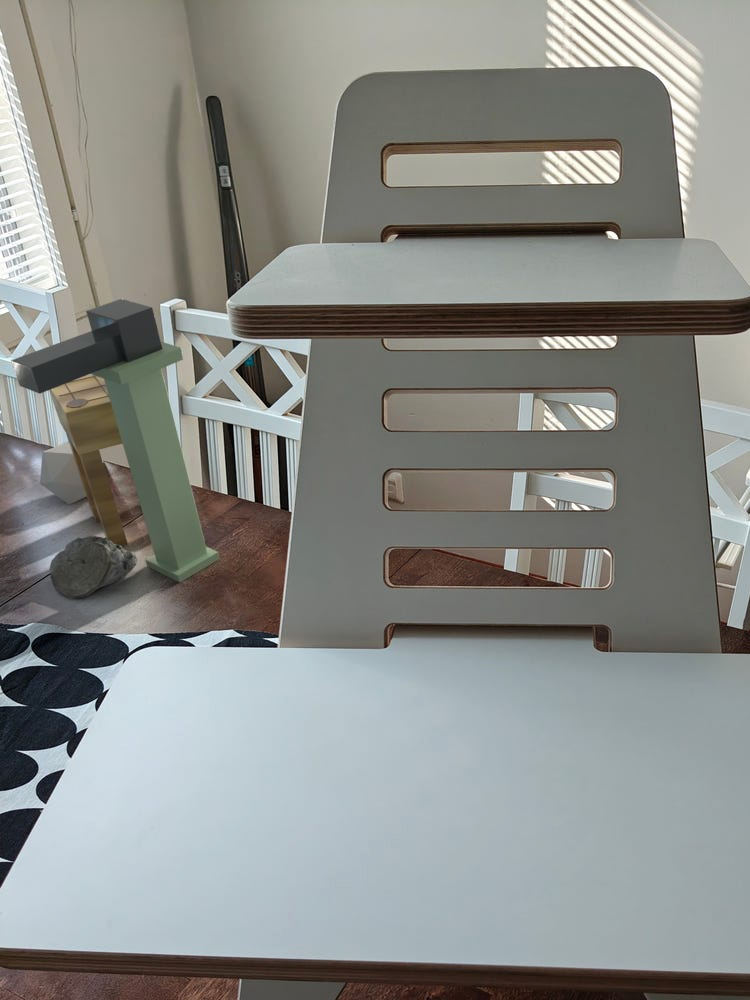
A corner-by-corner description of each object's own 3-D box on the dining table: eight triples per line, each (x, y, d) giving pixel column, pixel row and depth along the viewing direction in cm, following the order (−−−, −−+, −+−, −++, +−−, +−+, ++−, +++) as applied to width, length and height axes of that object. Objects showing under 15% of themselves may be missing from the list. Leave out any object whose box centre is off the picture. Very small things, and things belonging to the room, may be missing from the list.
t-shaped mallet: (132, 339, 120) (121, 298, 117) (162, 348, 117) (152, 307, 114) (14, 384, 110) (-1, 340, 107) (44, 395, 107) (30, 351, 104)
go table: (90, 515, 147) (46, 381, 134) (169, 493, 151) (133, 361, 138) (109, 551, 138) (64, 412, 125) (192, 526, 143) (157, 389, 130)
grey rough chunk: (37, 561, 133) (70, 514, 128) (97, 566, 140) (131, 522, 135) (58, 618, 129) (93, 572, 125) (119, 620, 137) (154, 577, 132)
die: (94, 478, 157) (39, 440, 151) (125, 462, 152) (69, 421, 146) (73, 520, 153) (16, 482, 147) (104, 504, 148) (46, 464, 141)
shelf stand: (178, 588, 130) (118, 372, 112) (136, 567, 134) (72, 356, 116) (230, 558, 135) (180, 347, 117) (188, 538, 140) (134, 333, 122)
